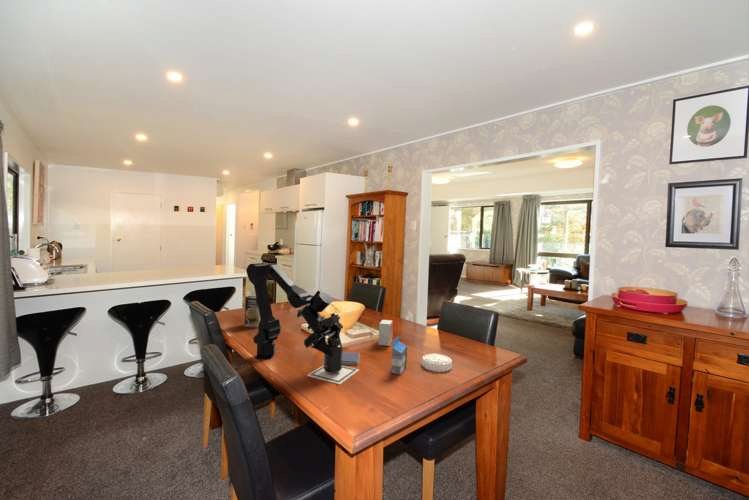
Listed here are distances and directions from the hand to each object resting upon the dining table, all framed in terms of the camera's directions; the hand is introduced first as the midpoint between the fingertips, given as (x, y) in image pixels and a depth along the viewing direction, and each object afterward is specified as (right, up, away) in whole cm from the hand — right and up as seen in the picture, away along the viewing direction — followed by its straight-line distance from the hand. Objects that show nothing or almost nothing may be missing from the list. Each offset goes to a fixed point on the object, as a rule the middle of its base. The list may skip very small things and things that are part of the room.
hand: (337, 353), depth 122 cm
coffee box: (-53, -4, +60) cm, 80 cm away
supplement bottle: (-2, -7, +1) cm, 7 cm away
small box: (+19, -7, +38) cm, 43 cm away
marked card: (-1, -8, +1) cm, 8 cm away
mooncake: (+39, -9, +11) cm, 42 cm away
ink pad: (+2, -7, +15) cm, 16 cm away
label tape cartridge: (+23, -9, +6) cm, 26 cm away
